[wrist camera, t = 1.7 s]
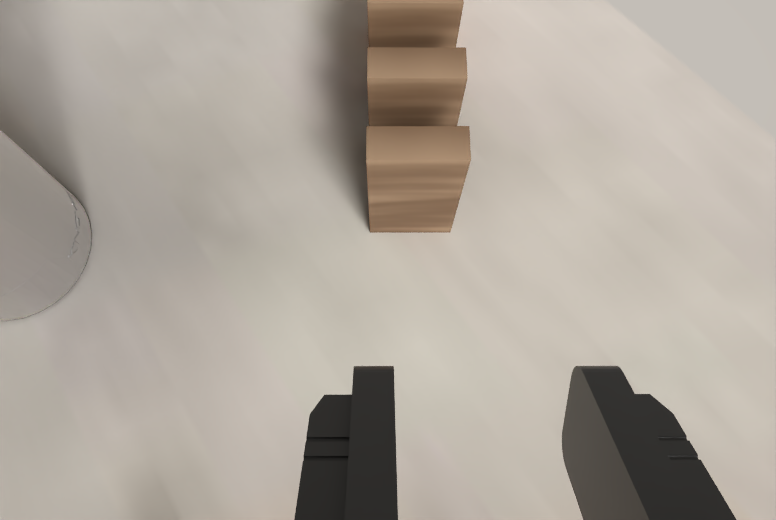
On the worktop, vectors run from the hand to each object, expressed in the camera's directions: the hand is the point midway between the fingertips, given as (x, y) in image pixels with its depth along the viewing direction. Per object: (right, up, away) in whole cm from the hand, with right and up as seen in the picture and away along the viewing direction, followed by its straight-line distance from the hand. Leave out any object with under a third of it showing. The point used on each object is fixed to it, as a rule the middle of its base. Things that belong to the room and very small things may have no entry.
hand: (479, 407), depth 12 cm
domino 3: (0, +5, +29) cm, 30 cm away
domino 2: (0, +10, +30) cm, 32 cm away
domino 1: (0, +14, +32) cm, 35 cm away
